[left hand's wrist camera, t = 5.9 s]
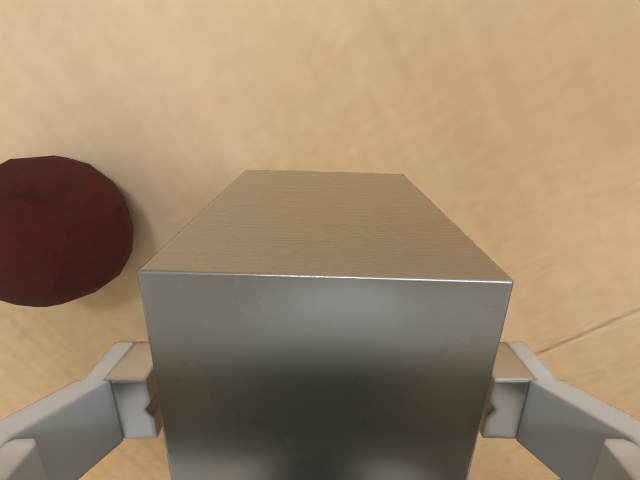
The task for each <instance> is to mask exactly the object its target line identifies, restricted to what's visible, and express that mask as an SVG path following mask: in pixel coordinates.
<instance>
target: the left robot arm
mask: <svg viewBox="0 0 640 480" xmlns="http://www.w3.org/2000/svg"><path fill="white" fill-rule="evenodd" d="M162 427H163V425H162V419H161V412H160V406H159V400H158V394H157V388H156V382H155V375H154V369H153V363H152V357H151V351H150V345H149V342H117V343H114V344H113V346H112V347H111V348H110V349H109V350H108V351H107V353H106V354H105V355H104V356H103V357H102V358H101V359H100V361H99V362H98V363H97V364H96V365H95V366H94V368H93V369H92V370H91V371H90V372H89V373H88V375H87V376H86V377H85V378H84V379H83V380H82V381H75V382H73V383H71V384H69V385H67V386H65V387H63V388H61V389H59V390H57V391H56V392H54V393H52V394H50V395H48V396H46V397H44V398H42V399H40V400H38V401H36V402H34V403H32V404H31V405H29V406H27V407H25V408H23V409H21V410H19V411H17V412H15V413H13V414H11V415H9V416H7V417H6V418H4V419H2V420H0V480H78V479H79V478H80V477H82V476H83V475H84V474H85V473H86V472H87V471H89V470H90V469H91V468H92V467H93V466H94V465H95V464H97V463H98V462H99V461H100V460H101V459H102V458H104V457H105V456H106V455H107V454H108V453H109V452H111V451H112V450H113V449H114V448H115V447H116V446H118V445H119V444H120V443H121V442H122V441H123V439H127V438H157V437H158V435H159V433H160V431H161V429H162ZM479 431H480V433H481V435H482V437H483V438H513V439H517V441H518V442H519V443H520V444H521V445H523V446H524V447H525V448H526V449H527V450H528V451H530V452H531V453H532V454H533V455H534V456H535V457H537V458H538V459H539V460H540V461H541V462H542V463H543V464H545V465H546V466H547V467H548V468H549V469H550V470H552V471H553V472H554V473H555V474H556V475H557V476H559V477H560V478H561V479H562V480H640V420H638V419H636V418H634V417H632V416H630V415H629V414H627V413H625V412H623V411H621V410H619V409H617V408H615V407H613V406H611V405H609V404H607V403H606V402H604V401H602V400H600V399H598V398H596V397H594V396H592V395H590V394H588V393H586V392H584V391H583V390H581V389H579V388H577V387H575V386H573V385H571V384H569V383H567V382H565V381H558V380H557V379H556V378H555V377H554V376H553V375H552V373H551V372H550V371H549V370H548V369H547V368H546V366H545V365H544V364H543V363H542V362H541V361H540V360H539V358H538V357H537V356H536V355H535V354H534V353H533V351H532V350H531V349H530V348H529V347H528V346H527V344H526V343H524V342H522V341H513V342H499V347H498V351H497V355H496V359H495V364H494V368H493V372H492V377H491V381H490V385H489V389H488V394H487V398H486V402H485V406H484V411H483V415H482V419H481V424H480V428H479Z"/></svg>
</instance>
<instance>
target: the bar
mask: <svg viewBox="0 0 640 480" xmlns="http://www.w3.org/2000/svg"><path fill="white" fill-rule="evenodd" d="M138 277H139V283H140V289H141V295H142V302H143V308H144V314H145V320H146V326H147V332H148V339H149V345H150V351H151V357H152V363H153V369H154V375H155V382H156V388H157V394H158V400H159V406H160V412H161V419H162V425H163V431H164V437H165V443H166V449H167V455H168V462H169V468H170V474H171V480H467V479H468V475H469V471H470V466H471V462H472V458H473V453H474V449H475V445H476V441H477V436H478V432H479V428H480V424H481V419H482V415H483V411H484V406H485V402H486V398H487V394H488V389H489V385H490V381H491V377H492V372H493V368H494V364H495V359H496V355H497V351H498V347H499V342H500V338H501V334H502V330H503V325H504V321H505V317H506V312H507V308H508V304H509V300H510V295H511V291H512V287H513V280H512V279H511V278H510V277H509V276H508V275H507V274H506V273H505V272H504V271H503V270H502V269H501V268H500V267H499V266H498V265H497V264H496V263H494V262H493V261H492V260H491V259H490V258H489V257H488V256H487V255H486V254H485V253H484V252H483V251H482V250H481V249H480V248H479V247H478V246H477V245H476V244H475V243H474V242H473V241H472V240H471V239H470V238H469V237H468V236H467V235H465V234H464V233H463V232H462V231H461V230H460V229H459V228H458V227H457V226H456V225H455V224H454V223H453V222H452V221H451V220H450V219H449V218H448V217H447V216H446V215H445V214H444V213H443V212H442V211H441V210H440V209H439V208H438V207H436V206H435V205H434V204H433V203H432V202H431V201H430V200H429V199H428V198H427V197H426V196H425V195H424V194H423V193H422V192H421V191H420V190H419V189H418V188H417V187H416V186H415V185H414V184H413V183H412V182H411V181H410V180H409V179H407V178H406V177H405V176H404V175H403V174H377V173H340V172H304V171H267V170H245V171H244V172H243V173H242V174H241V175H240V176H239V177H238V178H237V179H236V180H235V181H233V182H232V183H231V184H230V185H229V186H228V187H227V188H226V189H225V190H224V191H223V192H222V193H221V194H220V195H218V196H217V197H216V198H215V199H214V200H213V201H212V202H211V203H210V204H209V205H208V206H207V207H206V208H204V209H203V210H202V211H201V212H200V213H199V214H198V215H197V216H196V217H195V218H194V219H193V220H192V221H191V222H189V223H188V224H187V225H186V226H185V227H184V228H183V229H182V230H181V231H180V232H179V233H178V234H177V235H176V236H174V237H173V238H172V239H171V240H170V241H169V242H168V243H167V244H166V245H165V246H164V247H163V248H162V249H160V250H159V251H158V252H157V253H156V254H155V255H154V256H153V257H152V258H151V259H150V260H149V261H148V262H147V263H145V264H144V265H143V266H142V267H141V268H140V269H139V270H138Z"/></svg>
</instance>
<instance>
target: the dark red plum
mask: <svg viewBox="0 0 640 480" xmlns="http://www.w3.org/2000/svg"><path fill="white" fill-rule="evenodd" d="M132 244H133V225H132V222H131V218H130V215H129V212H128V209H127V205H126V202H125V199H124V197H123V195H122V194H121V193H120V191H119V190H118V188H117V187H116V186H115V184H114V183H113V182H112V180H110V179H109V178H107V177H106V176H105V175H103V174H102V173H100V172H99V171H98V170H96V169H95V168H94V167H92V166H91V165H90V164H88V163H84V162H81V161H77V160H73V159H70V158H66V157H60V156H44V157H33V158H19V159H9V160H8V161H6V162H4V163H2V164H0V300H1V301H5V302H8V303H12V304H15V305H23V306H32V307H49V306H54V305H59V304H63V303H66V302H69V301H72V300H75V299H77V298H80V297H83V296H86V295H88V294H91V293H94V292H96V291H97V290H99V289H100V288H102V287H103V286H104V285H106V284H107V283H109V282H110V281H111V280H113V279H114V278H115V277H117V276H118V275H120V273H121V271H122V269H123V268H124V266H125V264H126V262H127V261H128V259H129V257H130V254H131V252H132Z"/></svg>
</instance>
